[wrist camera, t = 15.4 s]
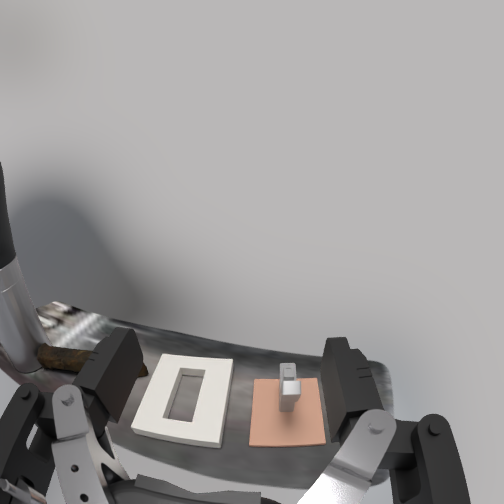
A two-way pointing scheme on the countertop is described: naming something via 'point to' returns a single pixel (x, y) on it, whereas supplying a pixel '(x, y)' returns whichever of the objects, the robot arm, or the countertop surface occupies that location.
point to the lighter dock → (207, 409)
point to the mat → (286, 416)
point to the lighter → (288, 387)
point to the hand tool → (67, 358)
